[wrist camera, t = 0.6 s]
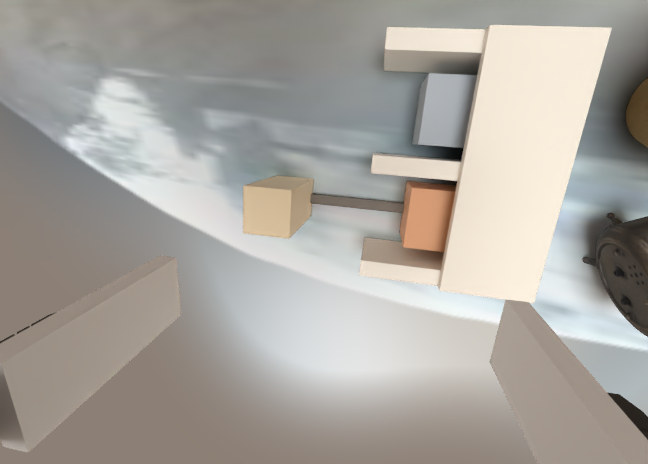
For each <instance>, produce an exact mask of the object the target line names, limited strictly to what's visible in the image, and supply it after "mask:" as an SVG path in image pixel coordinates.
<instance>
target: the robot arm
mask: <svg viewBox="0 0 648 464" xmlns="http://www.w3.org/2000/svg"><path fill="white" fill-rule="evenodd" d="M180 315H181V305H180V295H179V283H178V272H177V261H176V258H175V257H167V256H158V257H156V258H155V259H153V260H151V261H149V262H147V263H145V264H144V265H142V266H140V267H138V268H136V269H135V270H133V271H131V272H129V273H127V274H126V275H124V276H122V277H120V278H118V279H116V280H115V281H113V282H111V283H109V284H108V285H106V286H104V287H102V288H100V289H98V290H96V291H95V292H93V293H91V294H89V295H87V296H86V297H84V298H82V299H80V300H78V301H77V302H75V303H73V304H71V305H69V306H67V307H66V308H64V309H62V310H60V311H59V312H56V313H53V314H50V315H48V316H46V317H44V318H43V319H41V320H39V321H37V322H35V323H33V324H32V325H31V327H29V326H28V327H26V328H24V329H23V330H21V331H19V332H17V334H16V335H11V336H10V337H8V338H6V339H4V340H2V341H0V439H1V442H2V445H3V447H7V448H11V449H15V450H19V451H24V452H29V451H31V450H32V449H33V448H34V447H35V446H36V445H37V444H38V443H39V442H40V441H42V440H43V439H44V438H45V437H46V436H47V435H48V434H49V433H50V432H52V431H53V430H54V429H55V428H56V427H57V426H58V425H59V424H60V423H62V422H63V421H64V420H65V419H66V418H67V417H68V416H69V415H70V414H72V413H73V412H74V411H75V410H76V409H77V408H78V407H79V406H80V405H81V404H83V403H84V402H85V401H86V400H87V399H88V398H89V397H90V396H91V395H92V394H94V393H95V392H96V391H97V390H98V389H99V388H100V387H101V386H102V385H104V384H105V383H106V382H107V381H108V380H109V379H110V378H111V377H113V376H114V375H115V374H116V373H117V372H118V371H119V370H120V369H121V368H122V367H124V365H126V364H127V363H128V362H129V361H130V360H131V359H132V358H133V357H135V356H136V355H137V354H138V353H139V352H140V351H141V350H142V349H144V348H145V347H146V346H147V345H148V344H149V343H150V342H151V341H152V340H153V339H155V338H156V337H157V336H158V335H159V334H160V333H161V332H162V331H163V330H164V329H166V328H167V327H168V326H169V325H170V324H171V323H172V322H173V321H174V320H176V318H178V317H179V316H180ZM490 364H491V366H492V368H493V370H494V372H495V374H496V376H497V378H498V380H499V383H500V385H501V387H502V389H503V391H504V393H505V395H506V398H507V400H508V402H509V404H510V406H511V408H512V410H513V412H514V414H515V416H516V419H517V421H518V423H519V425H520V427H521V429H522V431H523V434H524V436H525V438H526V440H527V442H528V444H529V446H530V448H531V450H532V453H533V455H534V457H535V459H536V461H537V463H538V464H648V417H647V416H646V415H645V414H644V412H642V411H641V410H640V409H638V408H637V407H635V406H634V405H633V404H632V403H630V402H629V401H627V400H626V399H625V398H623V397H622V396H621V395H619V394H613V393H607V392H606V391H605V390H604V389H603V388H602V387H601V385H600V384H599V383H598V382H597V381H596V380H595V378H594V377H593V376H592V375H591V374H590V373H589V372H588V370H587V369H586V368H585V367H584V366H583V365H582V363H581V362H580V361H579V360H578V359H577V358H576V357H575V355H574V354H573V353H572V352H571V351H570V350H569V349H568V347H567V346H566V345H565V344H564V343H563V342H562V341H561V339H560V338H559V337H558V336H557V335H556V333H555V332H554V331H553V330H552V329H551V328H550V327H549V325H548V324H547V323H546V322H545V321H544V320H543V318H542V317H541V316H540V315H539V314H538V313H537V312H536V310H535V309H534V308H533V307H532V306H531V305H530V303H529V302H523V301H515V300H507V299H506V300H505V304H504V308H503V312H502V316H501V320H500V324H499V328H498V332H497V335H496V340H495V344H494V347H493V351H492V355H491V359H490Z"/></svg>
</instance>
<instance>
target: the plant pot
mask: <svg viewBox="0 0 648 464" xmlns="http://www.w3.org/2000/svg"><path fill="white" fill-rule="evenodd" d="M626 124H627V127H628V130H629V132H630V133H631V135H632V136H633V137H634V138H635V139H636V140H637V141H639V142H640V143H641V144H643V145H644V146H645V147H647V148H648V78H647V79H646V80H644V81H643V82H642V83H641V84H640V85H639V86H638V88H637V89H636V90H635V92H634V93H633V95H632V96H631V98H630V100H629V103H628V106H627V110H626Z"/></svg>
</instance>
